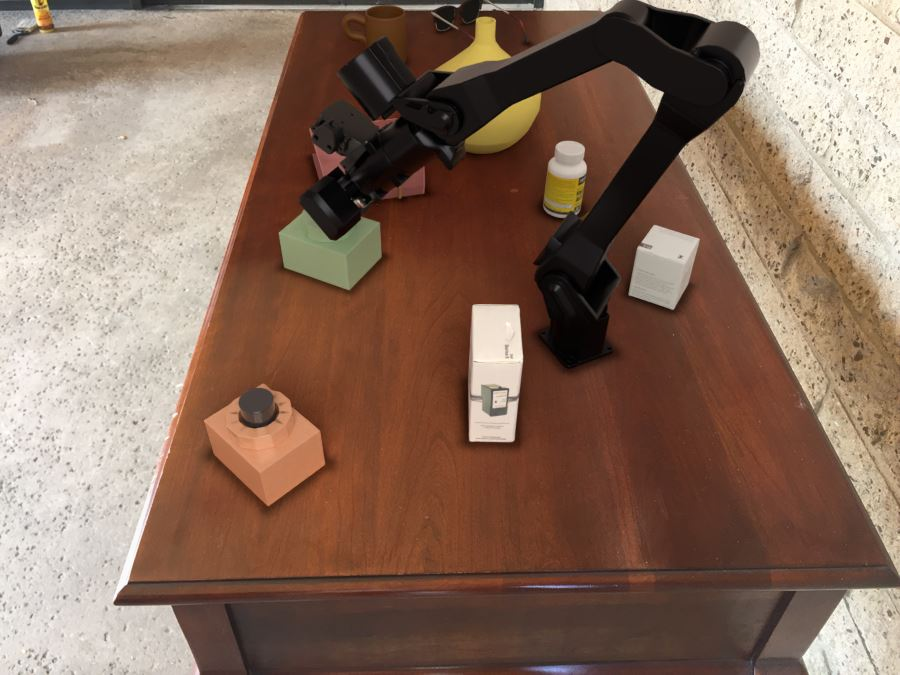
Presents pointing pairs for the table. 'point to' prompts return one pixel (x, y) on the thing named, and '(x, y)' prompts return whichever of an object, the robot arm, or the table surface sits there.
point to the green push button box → (330, 251)
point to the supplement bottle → (565, 180)
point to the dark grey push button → (257, 407)
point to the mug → (379, 27)
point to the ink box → (494, 372)
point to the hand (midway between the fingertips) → (326, 207)
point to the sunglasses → (463, 15)
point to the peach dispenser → (267, 448)
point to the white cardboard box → (663, 266)
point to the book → (331, 161)
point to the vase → (510, 121)
